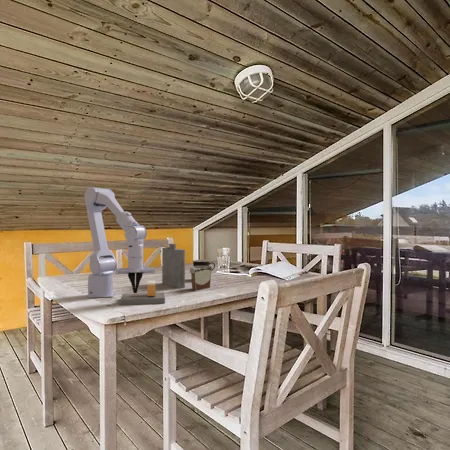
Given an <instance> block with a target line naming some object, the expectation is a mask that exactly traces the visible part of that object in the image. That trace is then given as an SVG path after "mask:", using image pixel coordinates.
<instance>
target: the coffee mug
mask: <svg viewBox="0 0 450 450" xmlns="http://www.w3.org/2000/svg"><path fill="white" fill-rule="evenodd" d="M192 264H193V266H211V264H212V265H213V267H212V271H214V269H215V268H216V264H215V262H210V260H209V259H193V260H192ZM193 266H192V267H193Z"/></svg>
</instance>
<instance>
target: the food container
mask: <svg viewBox="0 0 450 450" xmlns="http://www.w3.org/2000/svg"><path fill="white" fill-rule="evenodd" d="M212 269H213V267H212V265H209V266H191V267H190V269H189V273H190V276H191V288H192V291H194V292H198V291H203V290H209V289H211V281H212V271H213V270H212Z"/></svg>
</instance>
